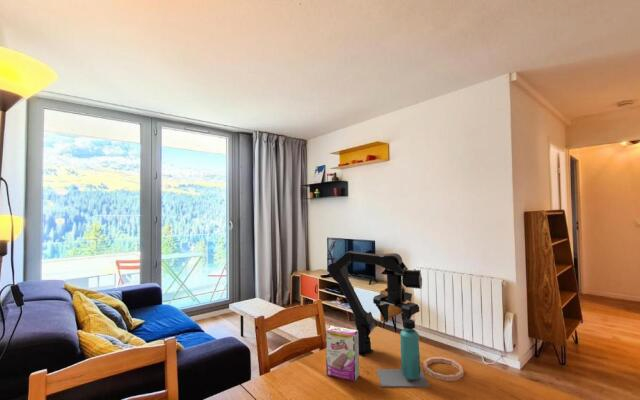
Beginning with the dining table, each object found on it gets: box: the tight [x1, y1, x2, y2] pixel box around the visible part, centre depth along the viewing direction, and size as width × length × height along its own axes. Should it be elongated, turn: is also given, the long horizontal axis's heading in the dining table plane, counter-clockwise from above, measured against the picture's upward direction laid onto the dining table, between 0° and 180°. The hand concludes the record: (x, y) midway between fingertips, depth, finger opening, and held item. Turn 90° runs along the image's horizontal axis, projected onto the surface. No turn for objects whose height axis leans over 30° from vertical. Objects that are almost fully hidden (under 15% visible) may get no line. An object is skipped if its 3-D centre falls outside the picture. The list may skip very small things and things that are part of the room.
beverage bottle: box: [399, 318, 422, 379], centre depth 104 cm, size 6×7×20 cm
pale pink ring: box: [423, 356, 464, 382], centre depth 109 cm, size 13×14×2 cm
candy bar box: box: [325, 325, 360, 383], centre depth 108 cm, size 11×5×16 cm, turn 65°
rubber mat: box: [376, 368, 431, 388], centre depth 105 cm, size 16×10×1 cm, turn 87°
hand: (395, 325), depth 119 cm, fingers open, 9 cm apart
